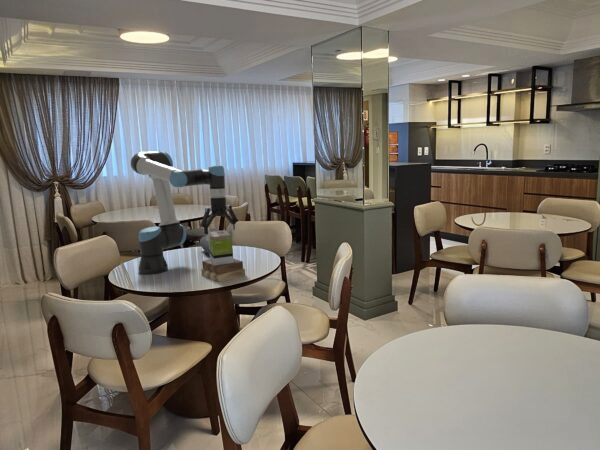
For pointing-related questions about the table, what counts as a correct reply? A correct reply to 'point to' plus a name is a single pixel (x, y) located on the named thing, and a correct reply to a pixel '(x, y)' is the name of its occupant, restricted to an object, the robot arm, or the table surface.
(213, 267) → the walnut slab
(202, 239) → the bluetooth speaker
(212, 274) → the oak slab
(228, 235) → the tea box
